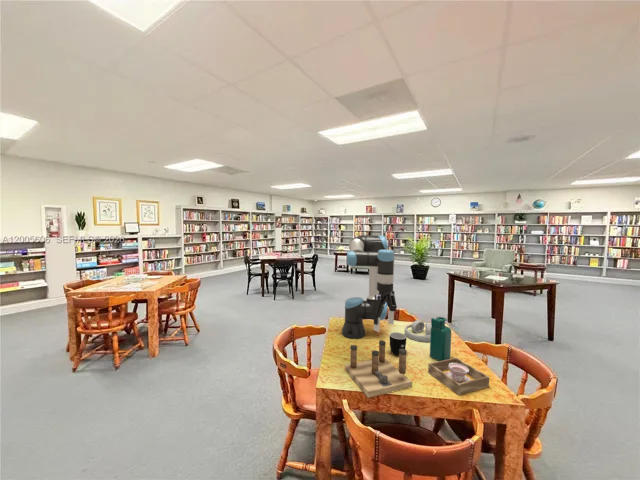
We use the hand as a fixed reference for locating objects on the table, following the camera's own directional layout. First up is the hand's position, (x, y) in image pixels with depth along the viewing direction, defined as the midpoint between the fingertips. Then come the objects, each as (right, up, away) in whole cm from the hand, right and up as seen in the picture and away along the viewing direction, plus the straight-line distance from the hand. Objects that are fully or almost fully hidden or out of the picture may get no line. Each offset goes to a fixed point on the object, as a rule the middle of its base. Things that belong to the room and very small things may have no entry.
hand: (383, 327), depth 123 cm
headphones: (+34, -21, +43) cm, 59 cm away
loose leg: (+6, -17, -8) cm, 20 cm away
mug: (+14, -21, +21) cm, 33 cm away
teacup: (+33, -23, -4) cm, 41 cm away
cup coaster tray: (+33, -23, -4) cm, 40 cm away
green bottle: (+34, -22, +15) cm, 43 cm away
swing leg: (-4, -20, -7) cm, 21 cm away
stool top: (-4, -22, -3) cm, 23 cm away
